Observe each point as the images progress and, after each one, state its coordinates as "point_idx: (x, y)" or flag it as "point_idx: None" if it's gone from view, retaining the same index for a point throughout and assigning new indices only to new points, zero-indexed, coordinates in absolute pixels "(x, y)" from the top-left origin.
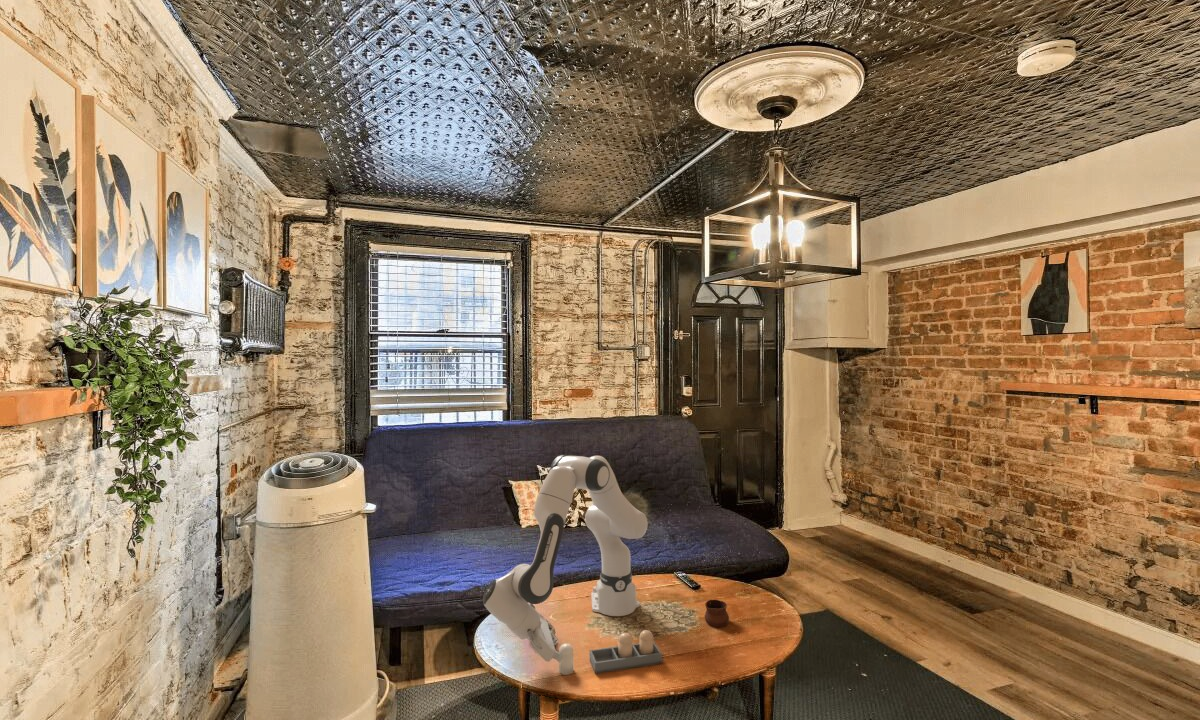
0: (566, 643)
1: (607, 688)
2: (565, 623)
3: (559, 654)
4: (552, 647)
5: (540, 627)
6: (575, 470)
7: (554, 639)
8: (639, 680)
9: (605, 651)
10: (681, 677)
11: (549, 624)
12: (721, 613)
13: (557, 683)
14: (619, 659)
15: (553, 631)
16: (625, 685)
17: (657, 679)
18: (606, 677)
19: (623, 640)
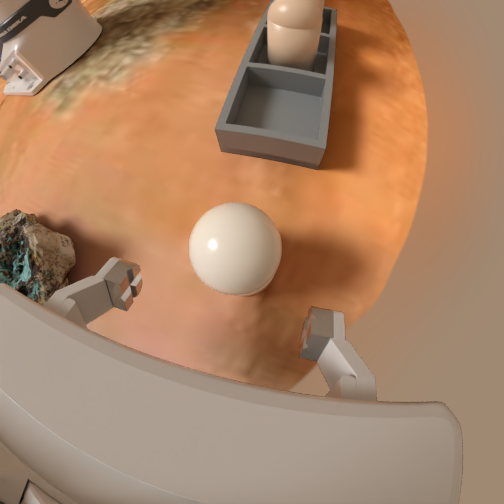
0: (215, 230)
1: (408, 176)
2: (19, 166)
3: (345, 340)
4: (433, 438)
5: (117, 497)
6: None
7: (124, 286)
8: (391, 89)
9: (242, 87)
10: (393, 36)
11: (4, 225)
12: None
13: None
14: (331, 74)
15: (36, 230)
16: (405, 127)
17: (393, 63)
18: (352, 148)
19: (315, 16)
